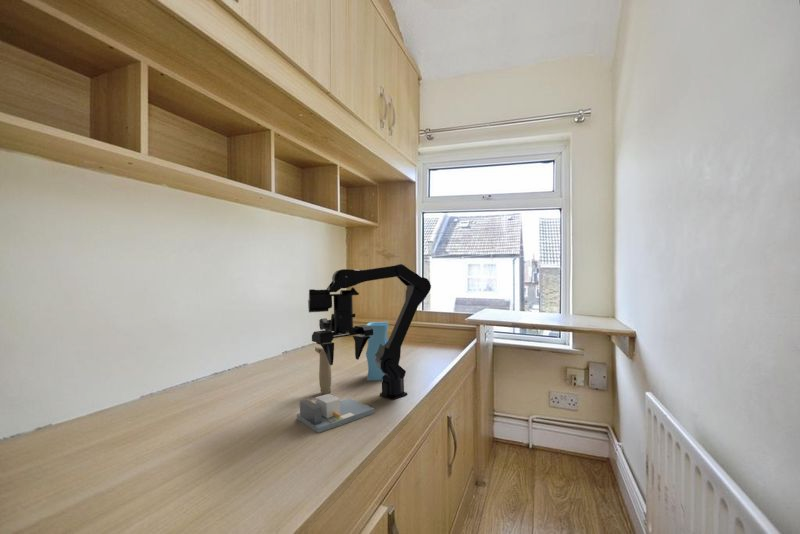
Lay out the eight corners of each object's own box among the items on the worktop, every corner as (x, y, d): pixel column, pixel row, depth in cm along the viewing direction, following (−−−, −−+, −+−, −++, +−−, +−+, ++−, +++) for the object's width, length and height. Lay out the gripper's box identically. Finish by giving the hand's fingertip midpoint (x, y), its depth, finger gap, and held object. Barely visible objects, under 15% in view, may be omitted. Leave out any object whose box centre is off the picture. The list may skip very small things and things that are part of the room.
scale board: (350, 401, 103) (350, 396, 104) (374, 413, 95) (374, 407, 95) (296, 418, 92) (296, 412, 92) (318, 433, 83) (318, 426, 83)
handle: (328, 396, 109) (327, 349, 109) (313, 393, 112) (312, 347, 112) (338, 391, 113) (337, 346, 114) (323, 389, 116) (322, 344, 117)
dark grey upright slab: (307, 414, 92) (306, 399, 92) (321, 423, 86) (321, 406, 86) (300, 416, 91) (299, 401, 91) (314, 425, 85) (314, 409, 85)
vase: (388, 380, 124) (386, 324, 125) (366, 380, 125) (365, 325, 125) (390, 373, 132) (389, 322, 133) (370, 374, 133) (368, 322, 133)
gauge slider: (328, 408, 95) (328, 393, 95) (346, 417, 89) (346, 401, 89) (315, 412, 93) (315, 397, 93) (332, 422, 86) (332, 405, 86)
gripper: (354, 306, 117) (355, 353, 116) (302, 311, 104) (303, 363, 104) (373, 308, 108) (375, 358, 108) (320, 314, 96) (321, 370, 95)
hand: (344, 362), depth 104 cm, fingers open, 9 cm apart
